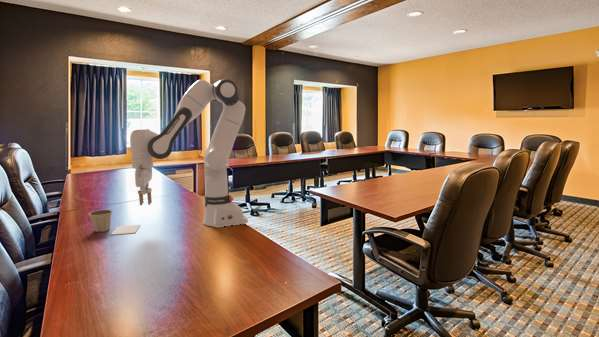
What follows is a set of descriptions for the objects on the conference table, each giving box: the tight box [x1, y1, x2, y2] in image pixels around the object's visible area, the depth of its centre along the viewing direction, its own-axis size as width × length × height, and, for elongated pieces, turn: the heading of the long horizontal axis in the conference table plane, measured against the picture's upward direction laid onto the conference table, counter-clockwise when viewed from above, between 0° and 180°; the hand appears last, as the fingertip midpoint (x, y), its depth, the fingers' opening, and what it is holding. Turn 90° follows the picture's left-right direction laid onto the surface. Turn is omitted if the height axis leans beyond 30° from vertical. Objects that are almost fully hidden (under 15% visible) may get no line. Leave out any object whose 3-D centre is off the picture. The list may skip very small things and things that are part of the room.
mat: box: [110, 224, 141, 236], centre depth 155 cm, size 10×12×1 cm
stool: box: [137, 187, 153, 206], centre depth 154 cm, size 5×5×7 cm
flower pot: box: [88, 209, 113, 233], centre depth 154 cm, size 9×9×9 cm
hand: (145, 192), depth 154 cm, fingers closed on stool, 5 cm apart
